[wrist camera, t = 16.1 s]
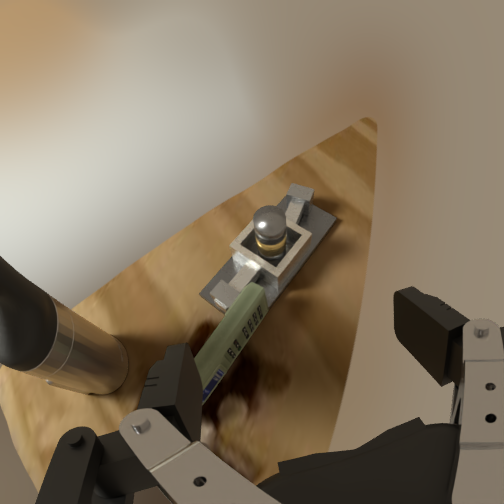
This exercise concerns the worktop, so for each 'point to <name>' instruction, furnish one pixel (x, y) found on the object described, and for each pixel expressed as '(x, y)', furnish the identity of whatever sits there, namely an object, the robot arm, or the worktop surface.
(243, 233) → the base
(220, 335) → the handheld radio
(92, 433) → the robot arm
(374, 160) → the worktop surface
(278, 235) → the grey cylinder with band
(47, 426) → the worktop surface
